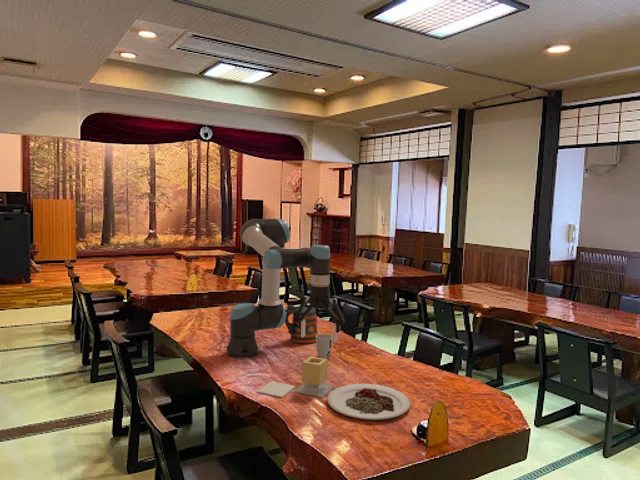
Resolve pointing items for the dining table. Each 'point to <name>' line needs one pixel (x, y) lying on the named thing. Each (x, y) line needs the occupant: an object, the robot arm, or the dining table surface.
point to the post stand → (314, 389)
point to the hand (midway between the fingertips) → (319, 338)
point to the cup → (324, 345)
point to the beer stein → (296, 331)
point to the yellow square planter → (314, 370)
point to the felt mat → (276, 389)
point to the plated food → (368, 401)
